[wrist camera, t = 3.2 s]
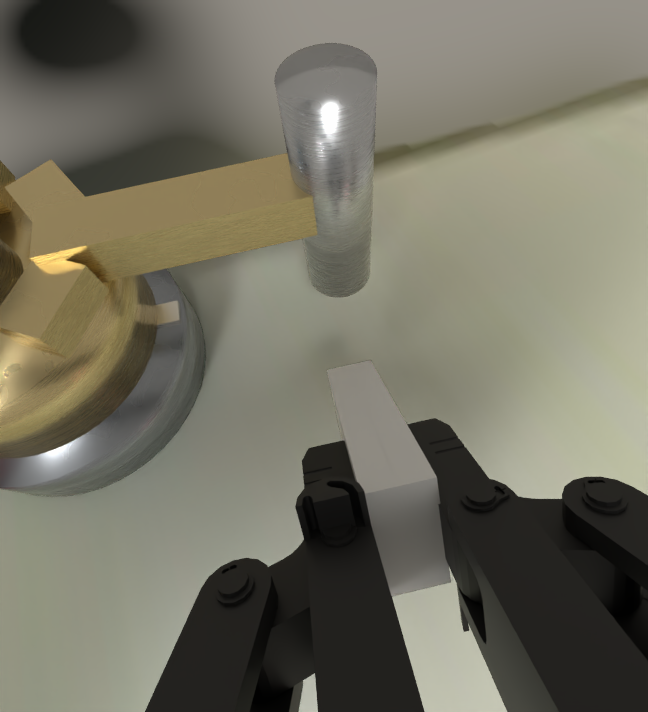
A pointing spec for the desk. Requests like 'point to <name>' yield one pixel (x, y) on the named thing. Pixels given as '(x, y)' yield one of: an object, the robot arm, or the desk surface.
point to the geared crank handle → (171, 248)
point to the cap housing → (127, 410)
